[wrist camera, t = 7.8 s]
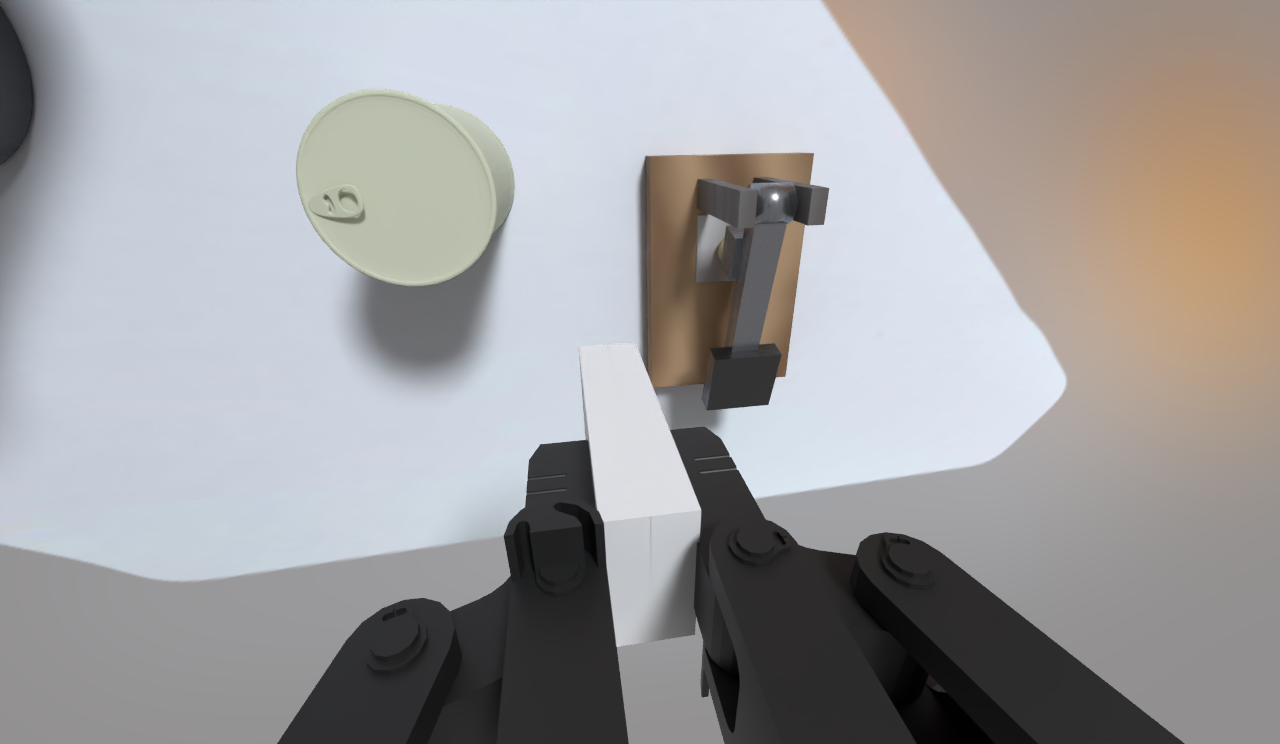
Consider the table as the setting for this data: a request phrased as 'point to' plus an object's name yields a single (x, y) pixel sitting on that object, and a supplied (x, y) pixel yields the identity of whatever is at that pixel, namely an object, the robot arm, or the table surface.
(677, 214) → the base
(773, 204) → the lever
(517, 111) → the table surface
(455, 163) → the can
